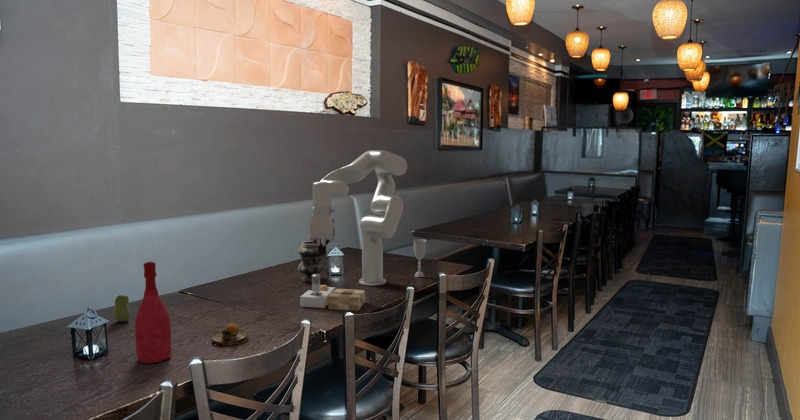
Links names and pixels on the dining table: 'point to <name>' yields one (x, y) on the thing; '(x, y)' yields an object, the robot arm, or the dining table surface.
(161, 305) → the wine bottle
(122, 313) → the pear
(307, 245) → the apothecary jar
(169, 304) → the dining table surface
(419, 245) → the chalice
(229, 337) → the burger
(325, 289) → the release plunger
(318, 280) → the drill bit
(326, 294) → the socket block
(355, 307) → the block
